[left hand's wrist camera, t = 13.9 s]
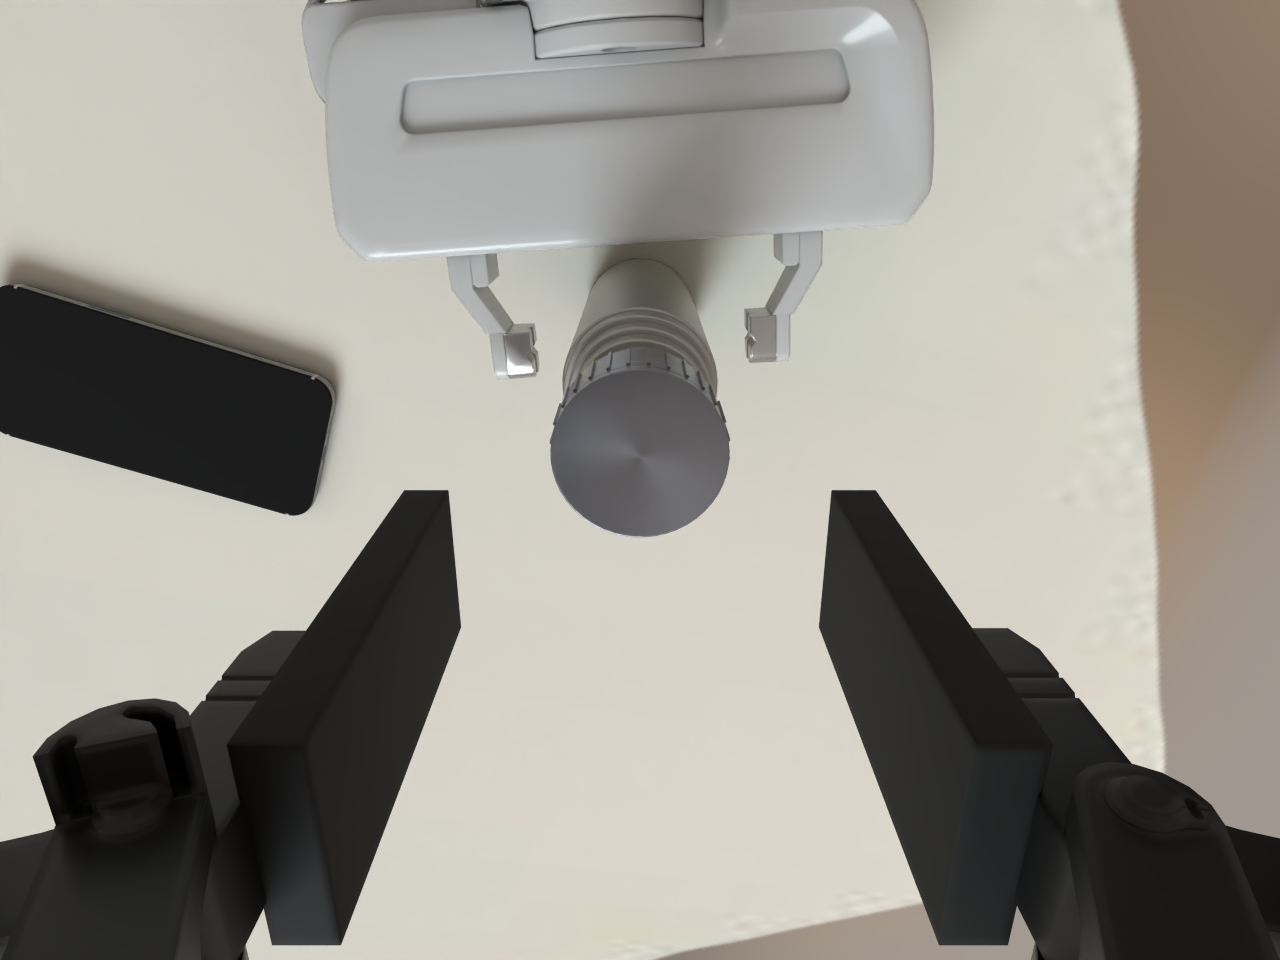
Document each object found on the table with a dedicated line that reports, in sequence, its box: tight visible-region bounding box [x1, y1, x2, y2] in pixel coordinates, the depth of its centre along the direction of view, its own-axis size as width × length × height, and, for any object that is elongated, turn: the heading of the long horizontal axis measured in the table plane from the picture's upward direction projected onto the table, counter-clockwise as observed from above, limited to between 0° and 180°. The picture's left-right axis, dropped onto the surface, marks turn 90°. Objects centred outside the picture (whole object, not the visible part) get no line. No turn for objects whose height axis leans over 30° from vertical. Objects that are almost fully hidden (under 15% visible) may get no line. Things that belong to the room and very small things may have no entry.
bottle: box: [563, 259, 718, 396], centre depth 28 cm, size 5×5×18 cm
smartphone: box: [0, 284, 336, 516], centre depth 38 cm, size 7×1×15 cm
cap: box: [550, 347, 730, 537], centre depth 21 cm, size 4×4×2 cm
